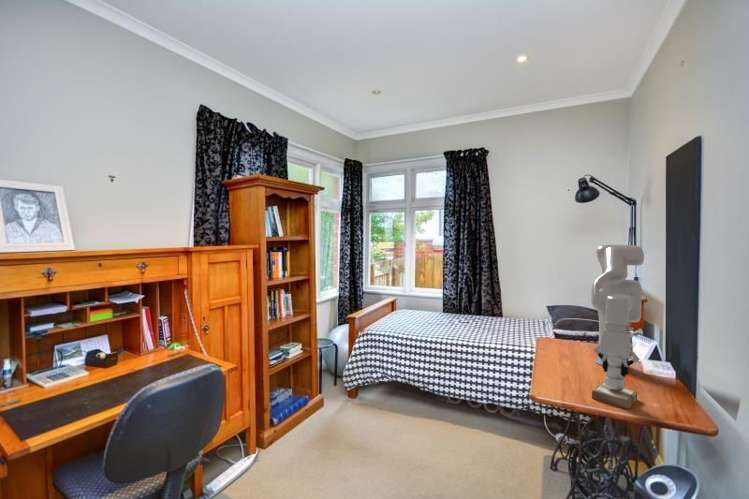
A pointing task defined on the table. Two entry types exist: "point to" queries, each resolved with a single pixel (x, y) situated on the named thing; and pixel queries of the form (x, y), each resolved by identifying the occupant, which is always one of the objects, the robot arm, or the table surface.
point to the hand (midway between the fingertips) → (615, 372)
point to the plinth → (614, 396)
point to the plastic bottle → (614, 371)
